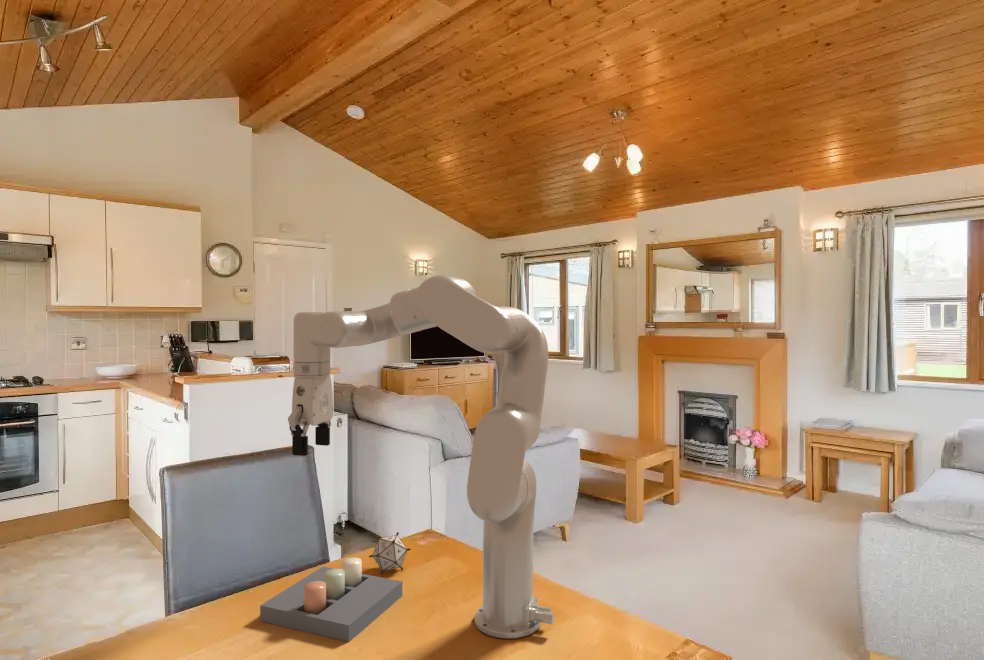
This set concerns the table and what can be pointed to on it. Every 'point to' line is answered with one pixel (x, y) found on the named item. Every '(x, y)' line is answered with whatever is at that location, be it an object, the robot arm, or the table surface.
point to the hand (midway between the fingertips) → (311, 449)
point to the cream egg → (352, 571)
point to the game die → (389, 553)
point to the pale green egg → (335, 583)
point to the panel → (333, 607)
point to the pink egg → (315, 597)
